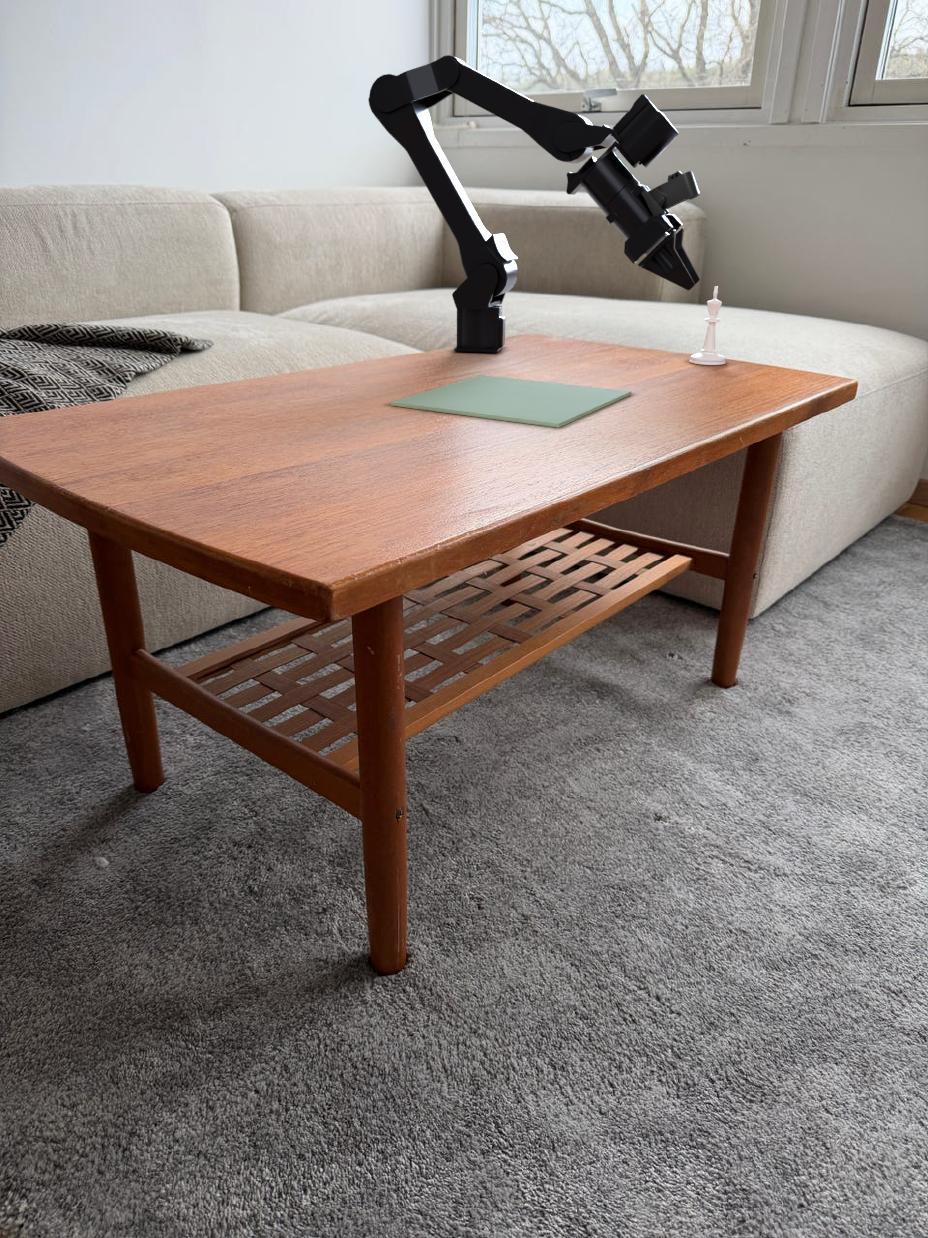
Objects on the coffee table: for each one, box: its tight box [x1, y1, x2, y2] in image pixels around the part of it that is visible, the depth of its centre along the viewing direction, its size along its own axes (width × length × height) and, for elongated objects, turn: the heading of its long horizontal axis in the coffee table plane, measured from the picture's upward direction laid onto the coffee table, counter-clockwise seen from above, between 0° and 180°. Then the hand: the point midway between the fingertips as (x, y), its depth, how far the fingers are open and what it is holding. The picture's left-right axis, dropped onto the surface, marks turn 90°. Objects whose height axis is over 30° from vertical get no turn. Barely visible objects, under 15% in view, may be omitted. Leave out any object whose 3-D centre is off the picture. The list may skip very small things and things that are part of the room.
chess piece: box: [689, 285, 727, 366], centre depth 125 cm, size 5×5×10 cm
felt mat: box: [390, 374, 632, 428], centre depth 102 cm, size 20×20×1 cm
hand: (694, 284), depth 124 cm, fingers open, 9 cm apart
